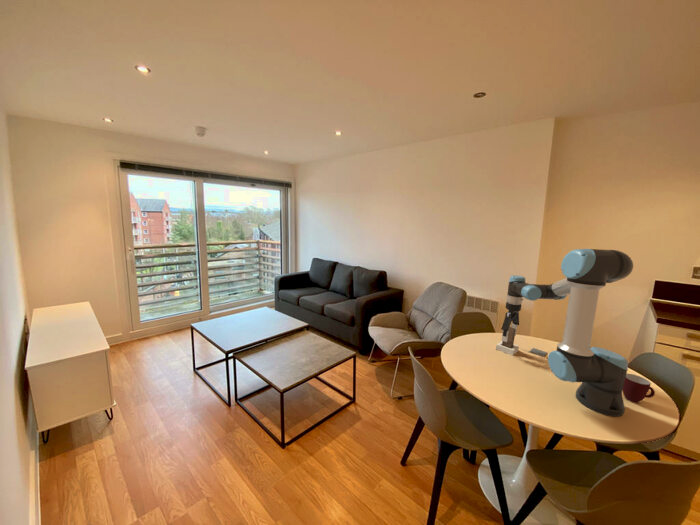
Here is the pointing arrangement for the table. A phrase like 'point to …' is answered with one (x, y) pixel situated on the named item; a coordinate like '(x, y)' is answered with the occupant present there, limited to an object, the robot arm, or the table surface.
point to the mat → (538, 352)
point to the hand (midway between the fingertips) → (508, 338)
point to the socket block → (506, 349)
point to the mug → (636, 388)
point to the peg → (510, 338)
